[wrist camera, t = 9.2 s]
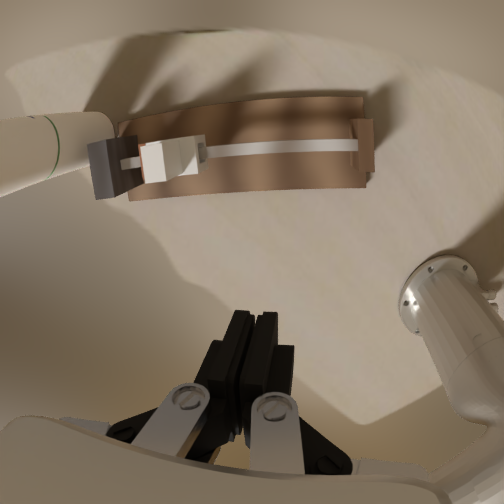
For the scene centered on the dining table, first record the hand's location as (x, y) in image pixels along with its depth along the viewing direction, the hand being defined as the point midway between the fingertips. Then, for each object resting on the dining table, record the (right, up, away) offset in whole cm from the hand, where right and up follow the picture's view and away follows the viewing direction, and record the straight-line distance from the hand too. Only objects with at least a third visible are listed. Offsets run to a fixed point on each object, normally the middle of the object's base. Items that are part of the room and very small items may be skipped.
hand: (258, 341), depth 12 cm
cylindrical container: (-21, +19, +23) cm, 36 cm away
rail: (-2, +15, +21) cm, 26 cm away
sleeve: (-7, +14, +19) cm, 24 cm away
